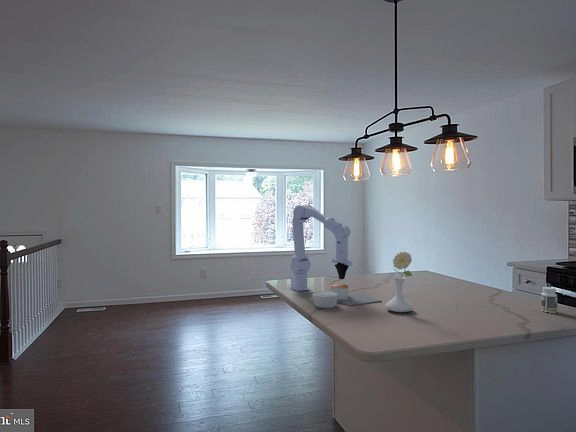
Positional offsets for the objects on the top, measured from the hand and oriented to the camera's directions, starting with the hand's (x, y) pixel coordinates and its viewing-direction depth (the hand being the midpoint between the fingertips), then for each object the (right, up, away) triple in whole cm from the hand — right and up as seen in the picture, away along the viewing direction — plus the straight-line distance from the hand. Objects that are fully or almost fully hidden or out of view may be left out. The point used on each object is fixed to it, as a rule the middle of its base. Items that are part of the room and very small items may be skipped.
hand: (341, 279), depth 195 cm
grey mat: (+5, -9, -7) cm, 12 cm away
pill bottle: (+82, -9, -28) cm, 87 cm away
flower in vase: (+21, -9, -28) cm, 36 cm away
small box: (-1, -5, 0) cm, 5 cm away
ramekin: (-10, -9, -19) cm, 23 cm away
